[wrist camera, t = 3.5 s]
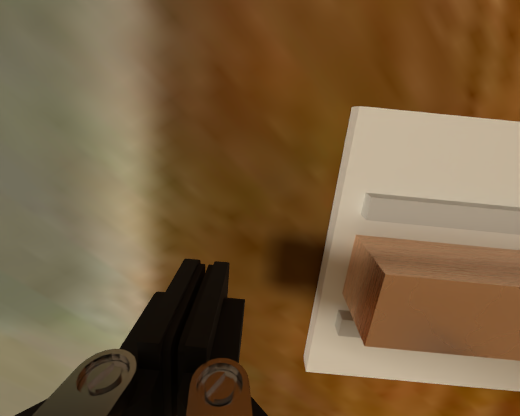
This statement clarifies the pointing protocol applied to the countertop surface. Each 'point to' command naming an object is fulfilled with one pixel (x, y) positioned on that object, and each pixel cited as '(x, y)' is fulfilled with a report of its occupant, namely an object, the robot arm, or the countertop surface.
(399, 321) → the bar
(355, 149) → the white rail board
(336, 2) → the countertop surface
